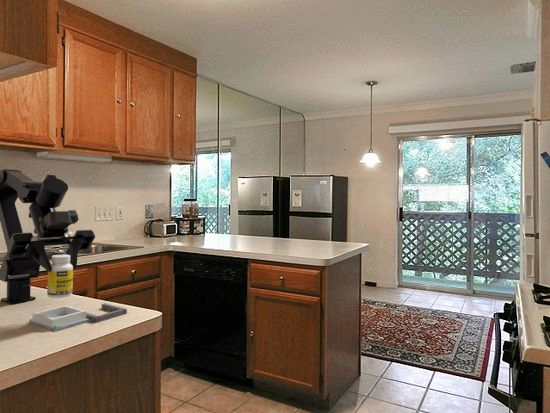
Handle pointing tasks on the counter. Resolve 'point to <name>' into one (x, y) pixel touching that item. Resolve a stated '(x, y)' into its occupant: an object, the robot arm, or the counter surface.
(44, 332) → the counter surface
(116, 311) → the holster cradle
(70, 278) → the supplement bottle
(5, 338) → the counter surface
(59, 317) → the panel
